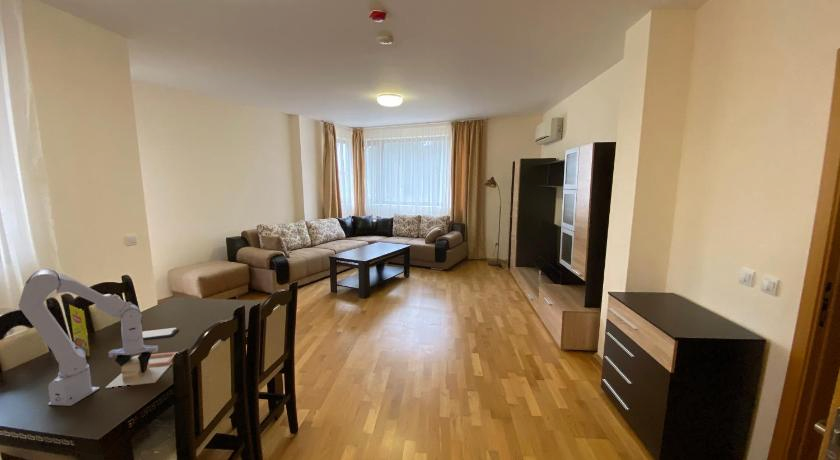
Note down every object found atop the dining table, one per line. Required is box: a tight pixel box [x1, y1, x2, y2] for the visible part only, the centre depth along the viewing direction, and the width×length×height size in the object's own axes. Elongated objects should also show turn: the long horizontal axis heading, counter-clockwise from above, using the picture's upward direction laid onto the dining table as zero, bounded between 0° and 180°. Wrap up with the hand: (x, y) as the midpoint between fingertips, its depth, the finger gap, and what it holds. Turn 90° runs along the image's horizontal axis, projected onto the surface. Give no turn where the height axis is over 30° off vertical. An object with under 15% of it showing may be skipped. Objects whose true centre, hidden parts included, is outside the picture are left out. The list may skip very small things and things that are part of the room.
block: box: [120, 354, 149, 382], centre depth 123 cm, size 8×4×6 cm, turn 15°
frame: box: [149, 351, 179, 367], centre depth 133 cm, size 12×8×1 cm
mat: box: [105, 356, 173, 389], centre depth 128 cm, size 21×15×1 cm
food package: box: [68, 304, 91, 358], centre depth 139 cm, size 15×1×20 cm, turn 62°
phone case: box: [142, 327, 179, 341], centre depth 157 cm, size 9×2×16 cm
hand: (136, 372), depth 123 cm, fingers closed on block, 4 cm apart
